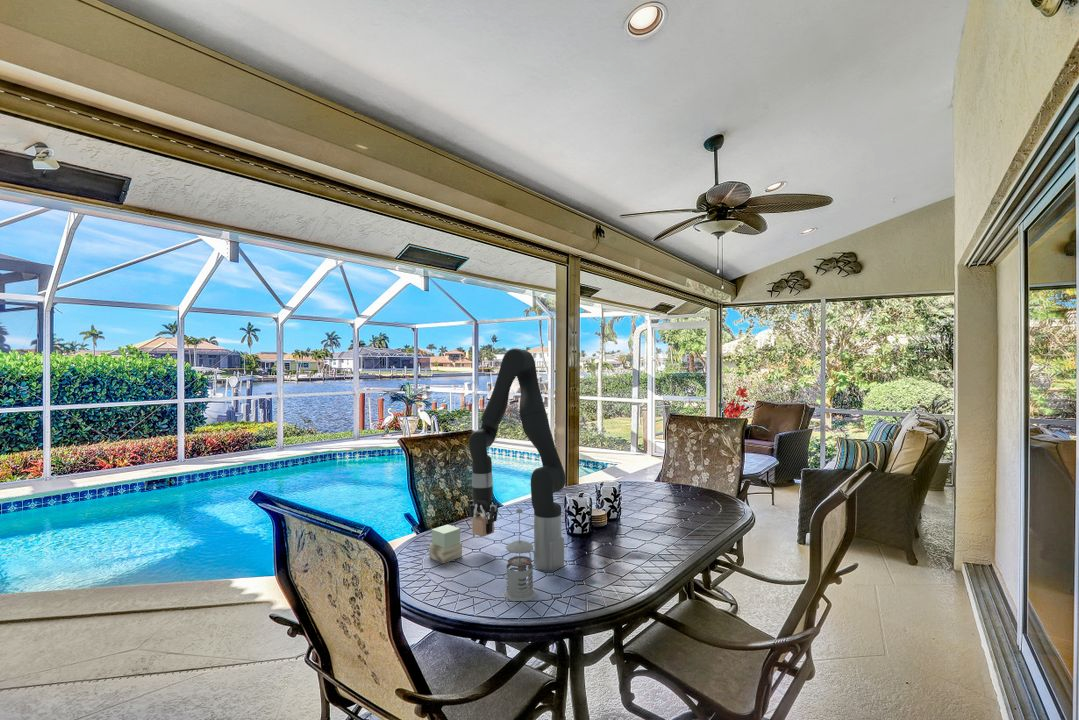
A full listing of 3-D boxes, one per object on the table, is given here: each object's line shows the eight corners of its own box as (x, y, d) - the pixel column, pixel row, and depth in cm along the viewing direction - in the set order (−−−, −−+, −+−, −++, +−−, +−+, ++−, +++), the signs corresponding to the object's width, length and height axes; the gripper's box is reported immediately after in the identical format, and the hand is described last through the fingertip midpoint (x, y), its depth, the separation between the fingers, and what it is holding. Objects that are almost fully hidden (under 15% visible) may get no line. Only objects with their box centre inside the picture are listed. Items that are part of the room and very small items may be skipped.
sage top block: (460, 542, 173) (460, 528, 173) (444, 548, 167) (444, 533, 167) (447, 538, 177) (447, 524, 177) (431, 543, 172) (431, 529, 172)
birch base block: (461, 557, 172) (461, 542, 172) (443, 564, 166) (443, 549, 166) (447, 551, 178) (447, 537, 178) (429, 558, 172) (429, 543, 172)
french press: (496, 596, 143) (495, 510, 143) (519, 581, 152) (519, 500, 152) (523, 605, 137) (523, 515, 137) (546, 589, 147) (545, 505, 147)
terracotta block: (494, 532, 177) (493, 517, 177) (482, 536, 173) (482, 521, 173) (483, 529, 181) (483, 514, 181) (472, 533, 176) (472, 518, 177)
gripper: (503, 485, 175) (504, 533, 175) (477, 480, 185) (477, 525, 184) (488, 489, 170) (489, 538, 169) (461, 483, 179) (462, 530, 179)
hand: (483, 531), depth 177 cm, fingers closed on terracotta block, 5 cm apart
